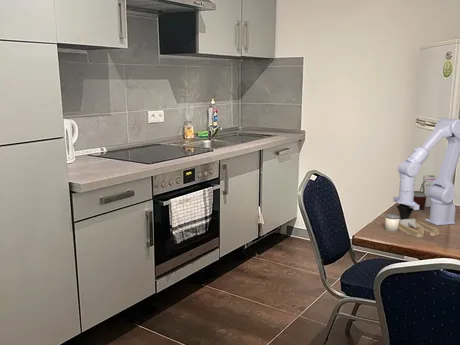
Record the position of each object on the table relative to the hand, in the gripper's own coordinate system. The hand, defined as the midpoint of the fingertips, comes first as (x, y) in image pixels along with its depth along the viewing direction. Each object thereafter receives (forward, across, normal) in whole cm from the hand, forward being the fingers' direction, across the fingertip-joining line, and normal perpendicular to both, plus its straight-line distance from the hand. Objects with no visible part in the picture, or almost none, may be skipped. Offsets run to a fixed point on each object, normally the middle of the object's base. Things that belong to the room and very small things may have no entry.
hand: (404, 222), depth 191 cm
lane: (+1, +7, 0) cm, 7 cm away
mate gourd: (+2, -21, +23) cm, 31 cm away
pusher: (+1, +4, 0) cm, 4 cm away
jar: (+1, +4, -8) cm, 9 cm away
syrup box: (+2, -25, +32) cm, 41 cm away
